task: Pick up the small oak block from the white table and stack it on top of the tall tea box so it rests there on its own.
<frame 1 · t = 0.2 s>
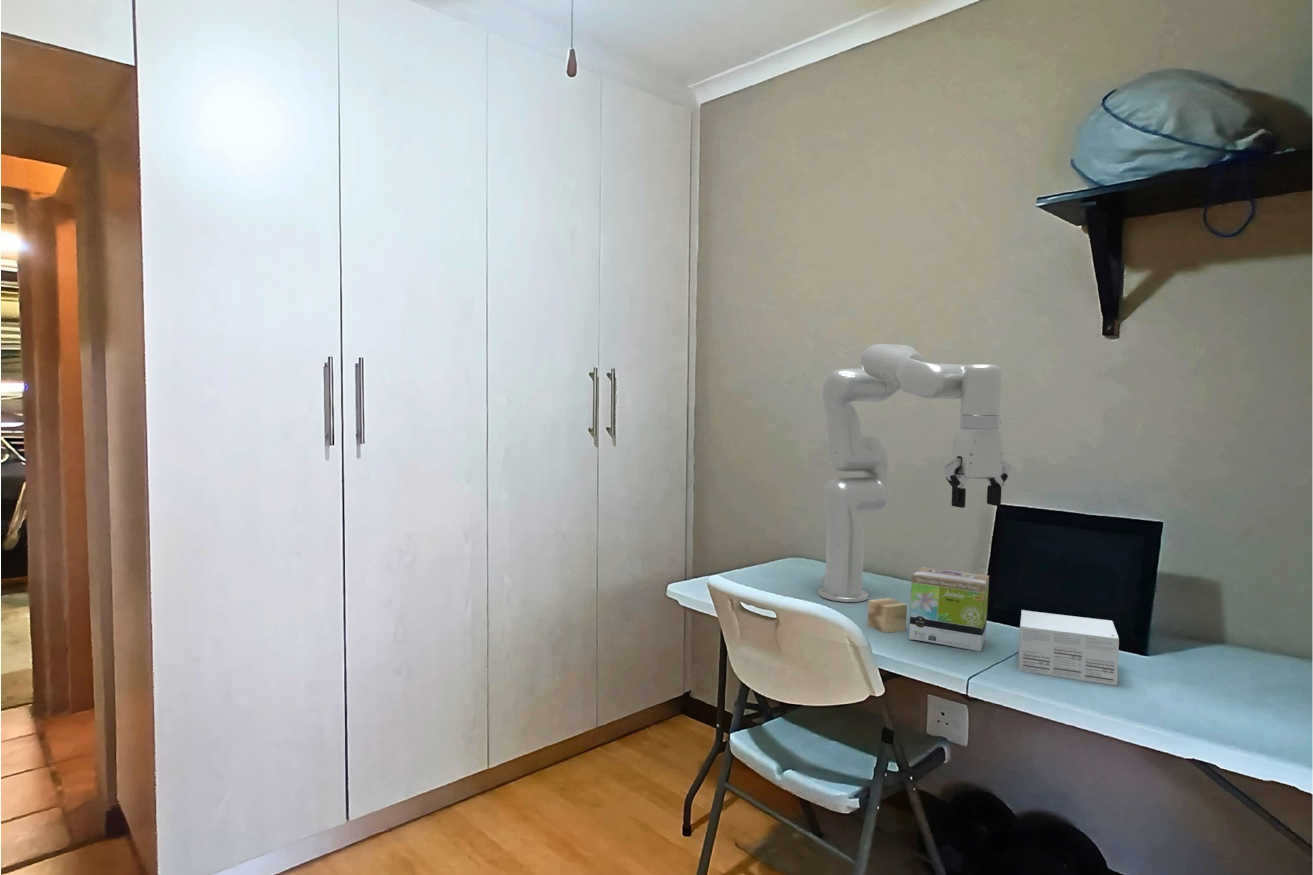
hand: (976, 505, 160), 31 cm above the table, tool pointing down, fingers open, 9 cm apart
oak block: (886, 628, 177), on the table
tea box: (947, 641, 169), on the table
supplement box: (1065, 669, 153), on the table
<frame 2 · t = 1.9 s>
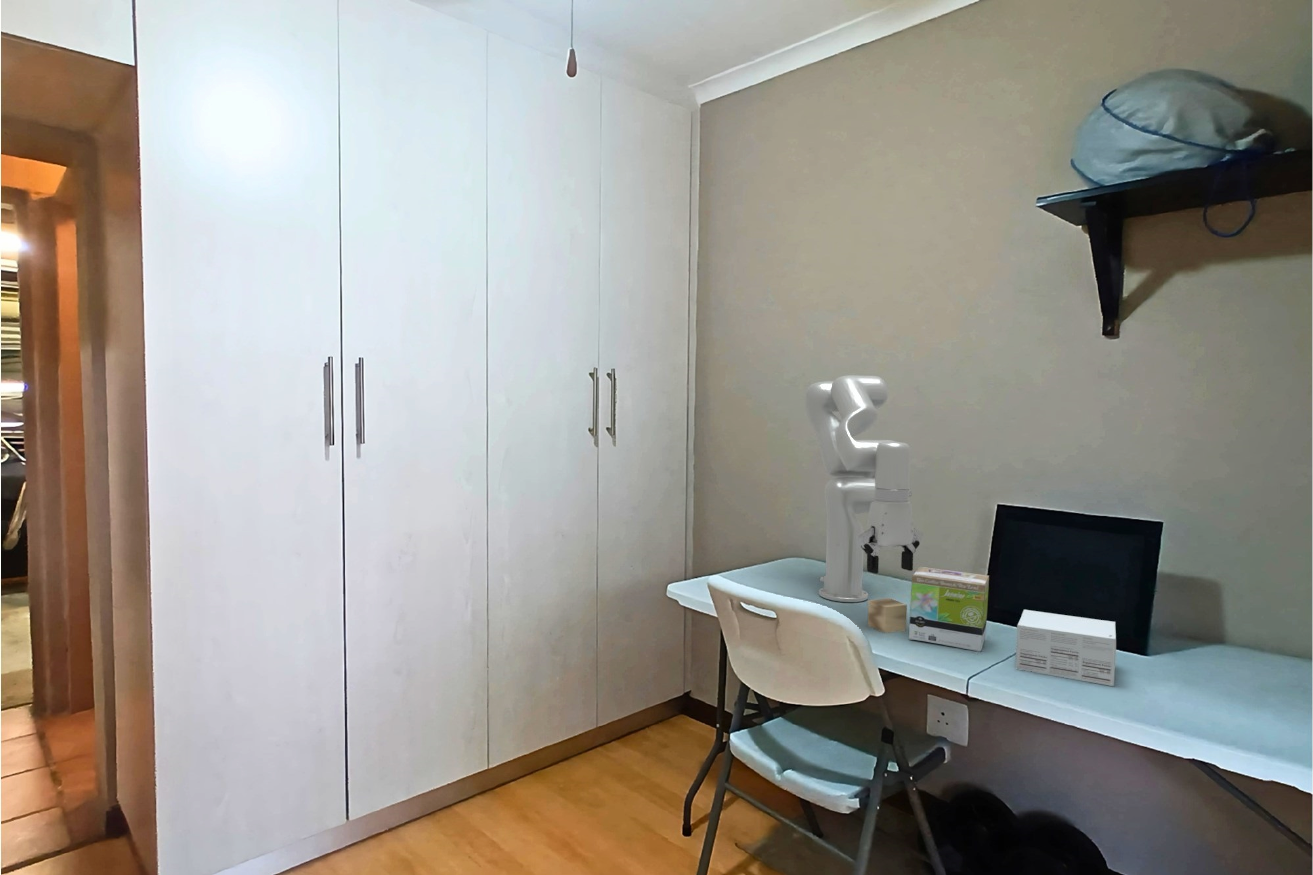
hand: (889, 571, 175), 13 cm above the table, tool pointing down, fingers open, 9 cm apart
nothing on the table moved.
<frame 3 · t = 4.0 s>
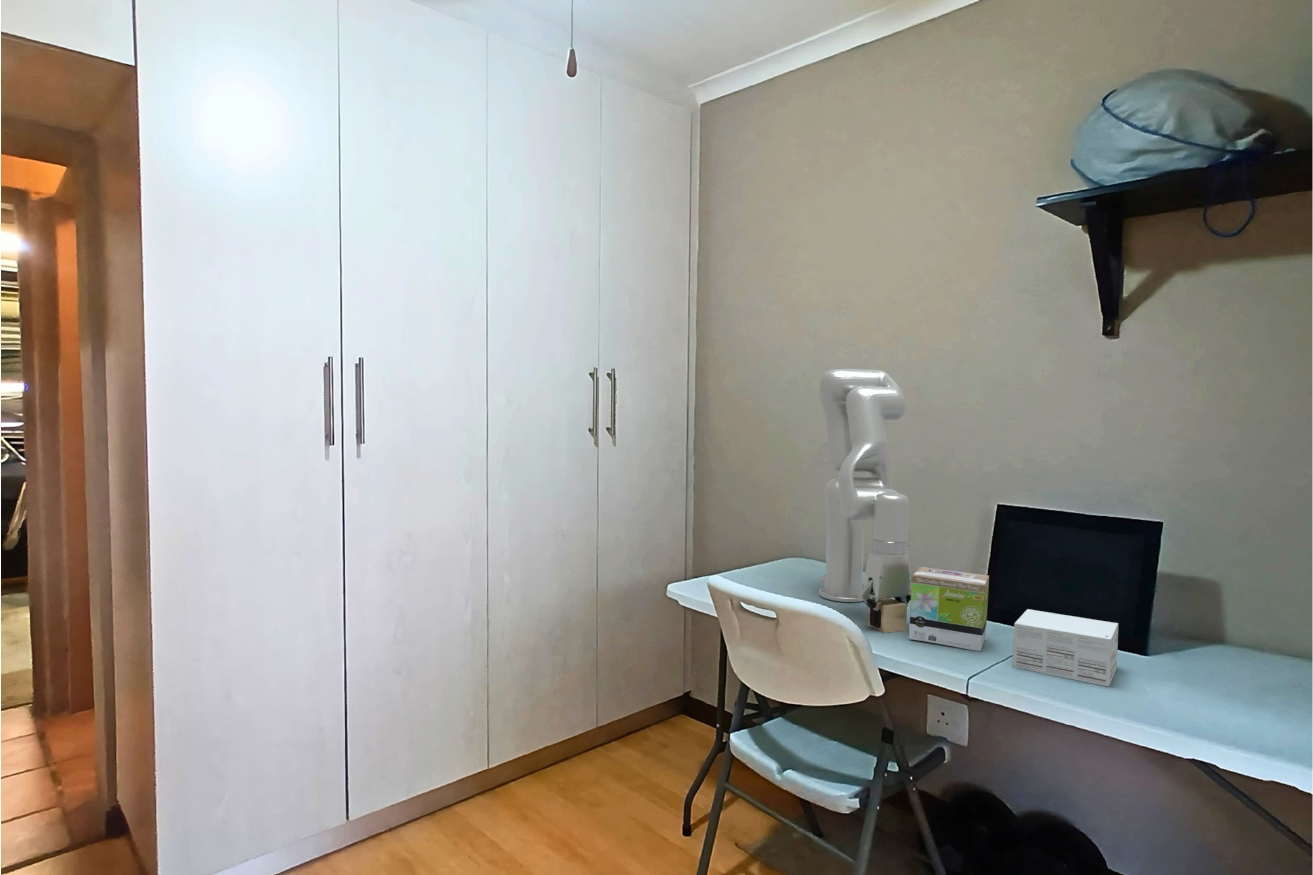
hand: (886, 624, 176), 1 cm above the table, tool pointing down, fingers closed on oak block, 6 cm apart
oak block: (886, 627, 177), on the table, touching gripper
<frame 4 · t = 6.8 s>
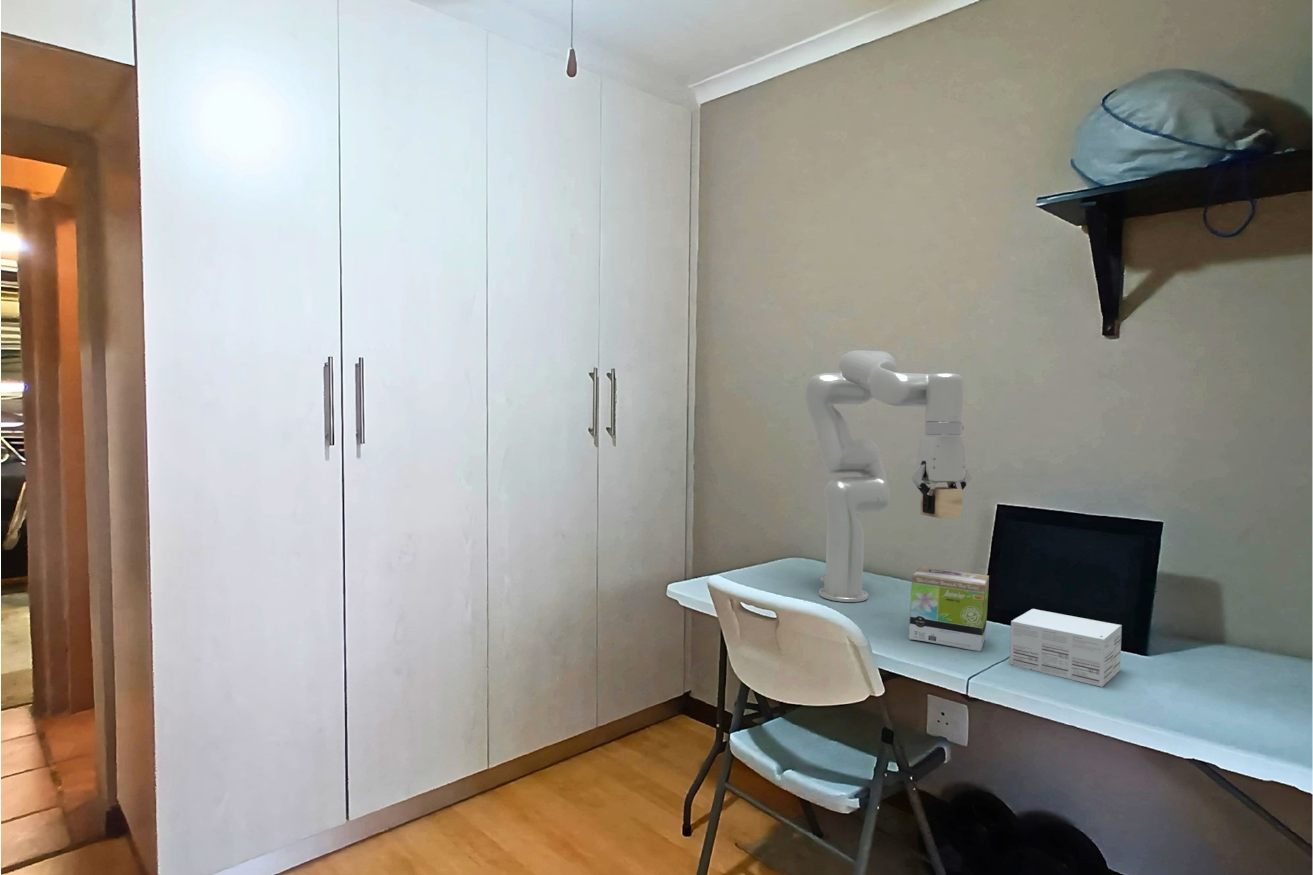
hand: (940, 511, 168), 28 cm above the table, tool pointing down, fingers closed on oak block, 6 cm apart
oak block: (940, 515, 168), point 27 cm above the table, touching gripper
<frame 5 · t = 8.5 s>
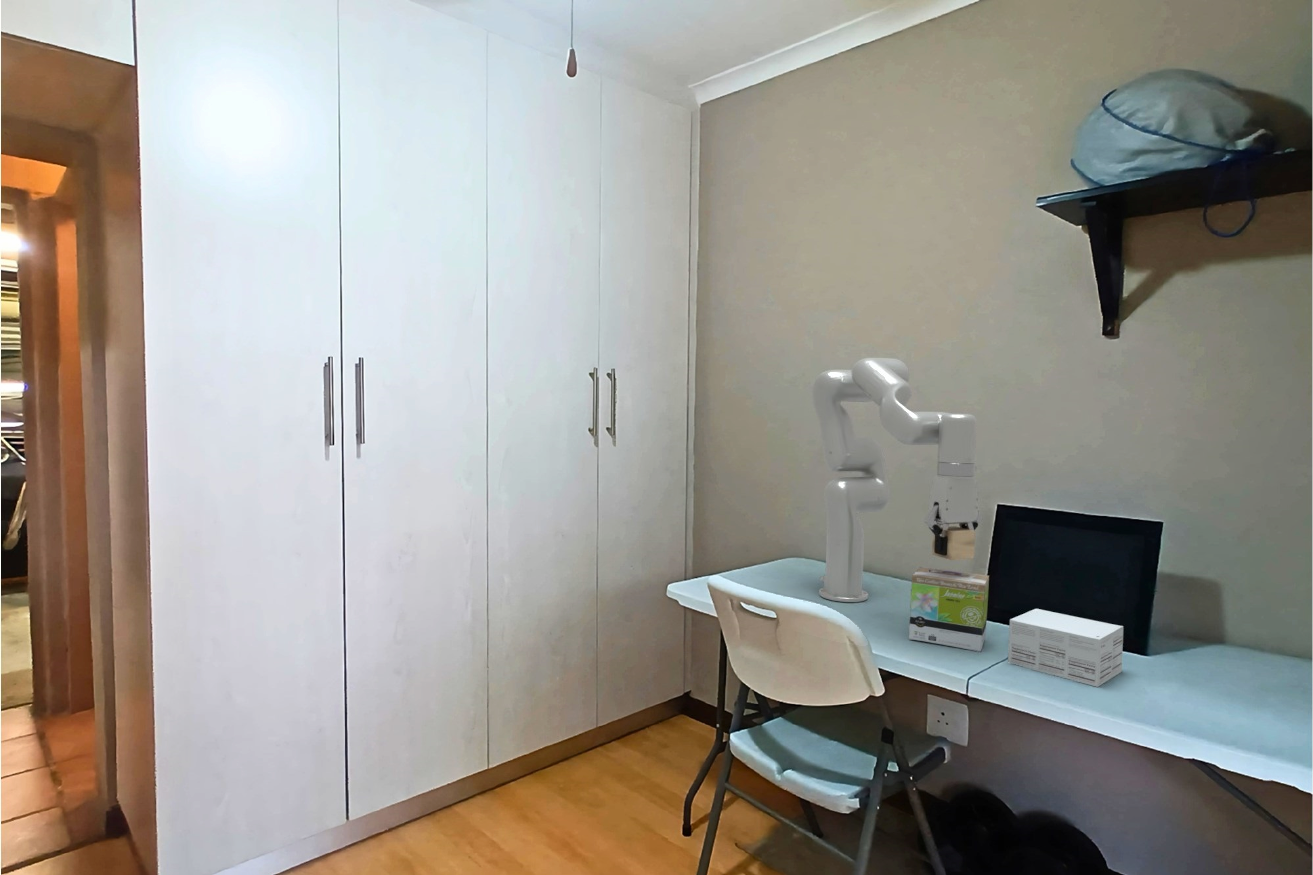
hand: (952, 552, 167), 19 cm above the table, tool pointing down, fingers closed on oak block, 6 cm apart
oak block: (952, 556, 167), point 19 cm above the table, touching gripper
when the fingers open (17 cm above the table, at t = 9.8 s): oak block drops 2 cm, resting on tea box.
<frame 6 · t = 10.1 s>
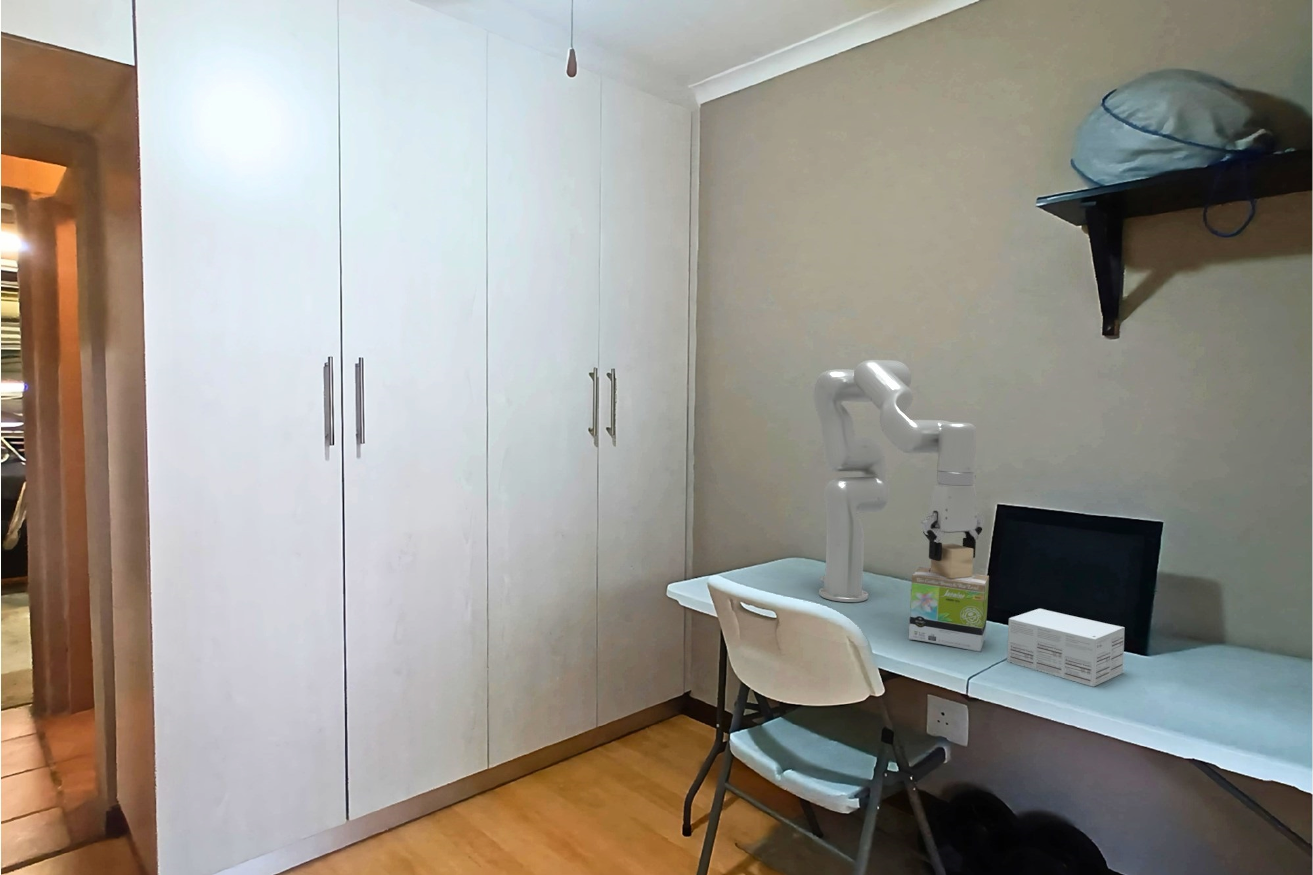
hand: (951, 558, 167), 18 cm above the table, tool pointing down, fingers open, 9 cm apart
oak block: (951, 574, 167), point 15 cm above the table, touching tea box
tea box: (947, 641, 169), on the table, touching oak block
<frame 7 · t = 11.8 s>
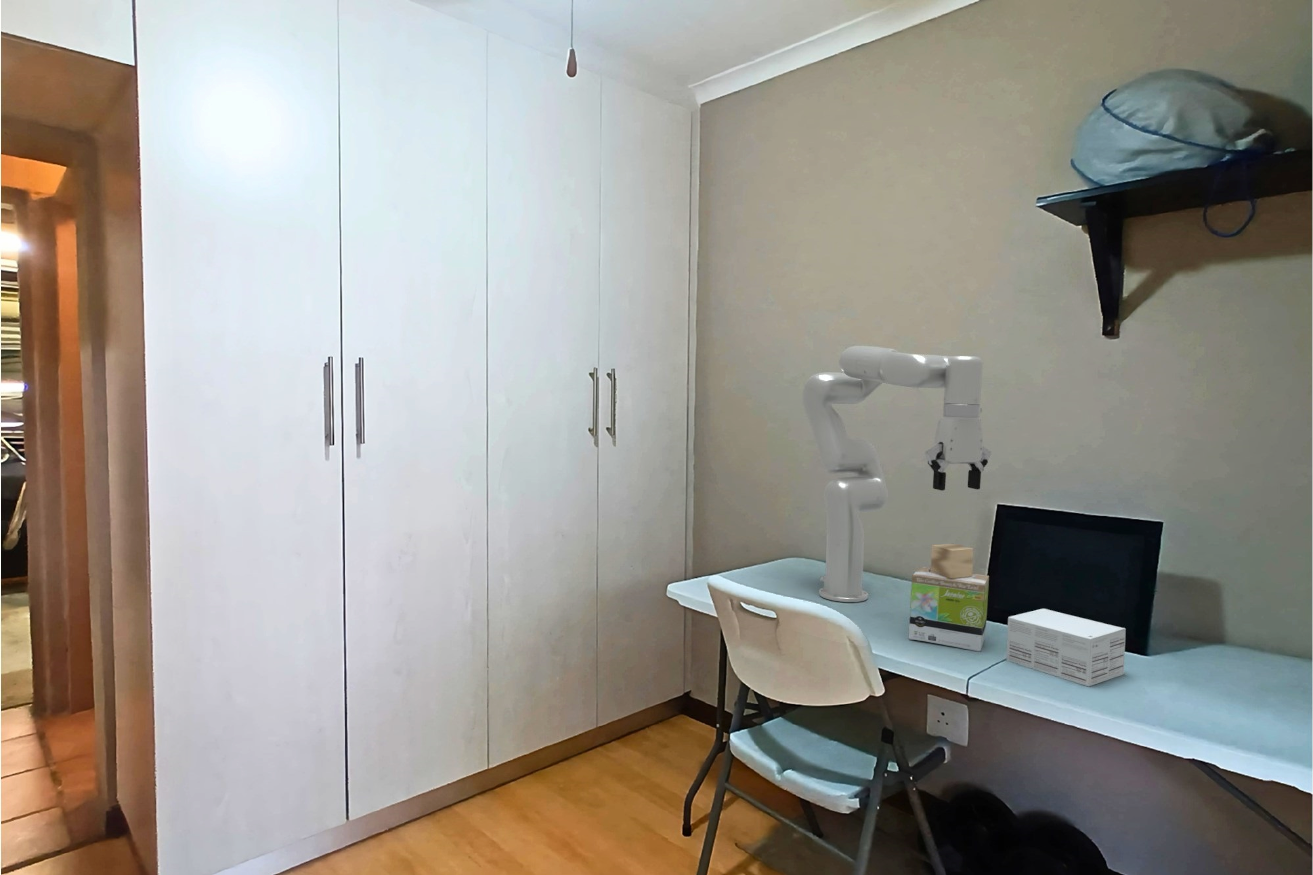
hand: (956, 489, 171), 33 cm above the table, tool pointing down, fingers open, 9 cm apart
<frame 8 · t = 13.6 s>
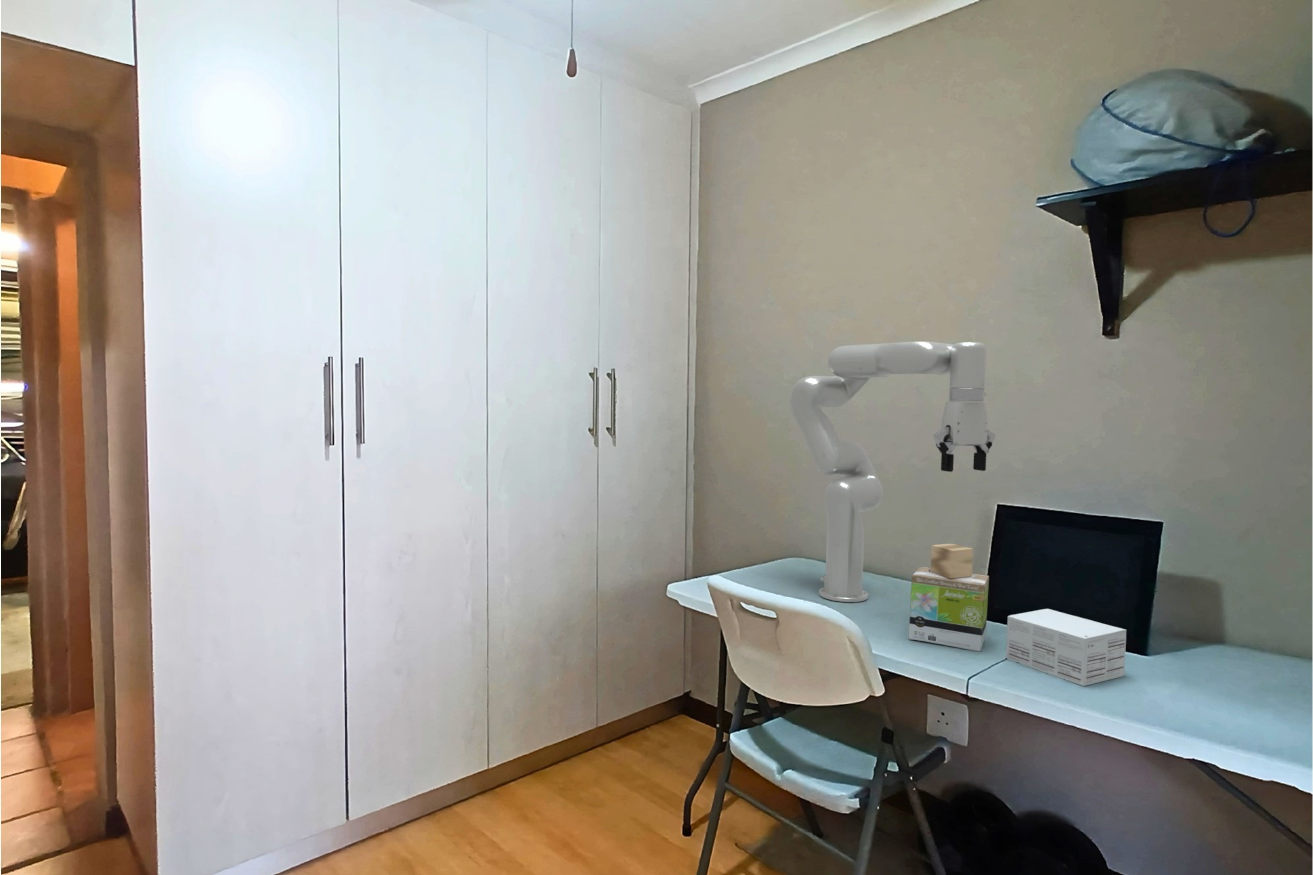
hand: (963, 470, 177), 36 cm above the table, tool pointing down, fingers open, 9 cm apart
at the end: oak block 0.3 cm from the tea box (horizontally); oak block point 14.7 cm above the table; oak block tilted 0° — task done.
